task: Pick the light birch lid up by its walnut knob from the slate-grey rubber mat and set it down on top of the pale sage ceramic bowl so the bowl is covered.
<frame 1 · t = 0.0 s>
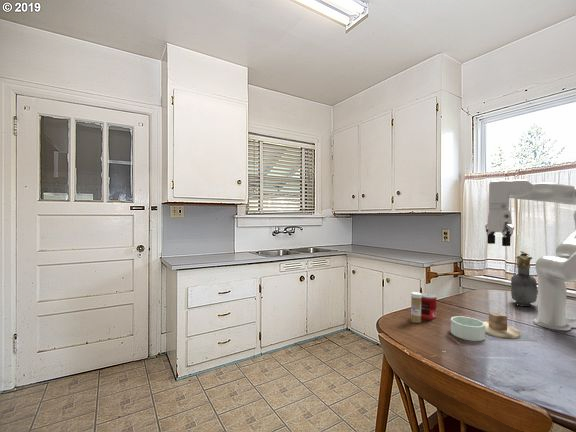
hand: (498, 244, 131), 37 cm above the table, tool pointing down, fingers open, 9 cm apart
canned food: (427, 317, 140), on the table
lid: (497, 331, 122), point 1 cm above the table, touching mat
mat: (497, 332, 122), on the table
bowl: (467, 335, 119), on the table
grey vase: (523, 304, 161), on the table
sprinkles bottle: (416, 321, 135), on the table
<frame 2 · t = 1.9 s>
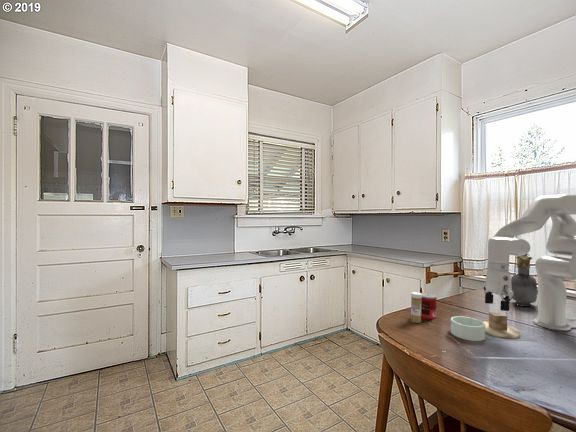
hand: (496, 306, 122), 11 cm above the table, tool pointing down, fingers open, 9 cm apart
nothing on the table moved.
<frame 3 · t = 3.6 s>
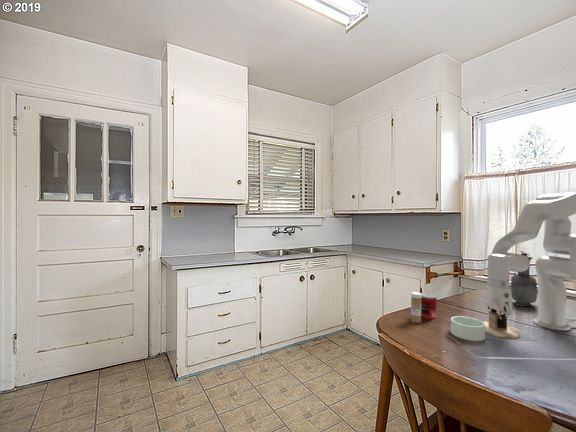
hand: (497, 325, 122), 3 cm above the table, tool pointing down, fingers closed on lid, 4 cm apart
lid: (497, 331, 122), point 1 cm above the table, touching gripper, mat
everything else where it was.
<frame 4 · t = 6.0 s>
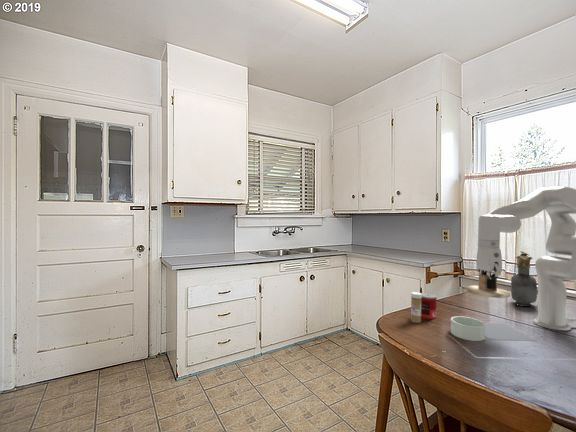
hand: (487, 286, 121), 20 cm above the table, tool pointing down, fingers closed on lid, 4 cm apart
lid: (487, 292, 121), point 17 cm above the table, touching gripper
everything else where it was.
when the fingers open (10 cm above the table, at t = 8.7 s): lid drops 1 cm, resting on bowl.
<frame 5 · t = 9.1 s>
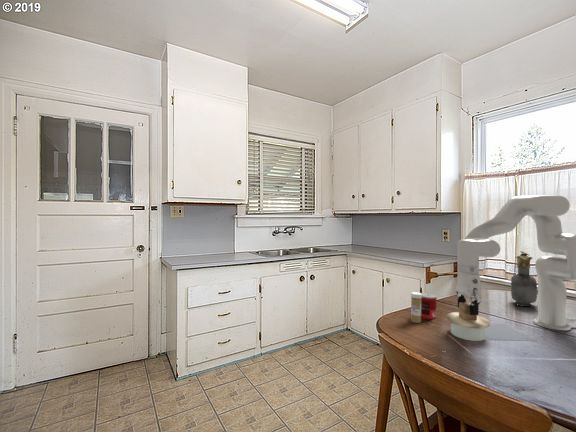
hand: (467, 310, 119), 10 cm above the table, tool pointing down, fingers open, 8 cm apart
lid: (467, 321, 119), point 6 cm above the table, touching bowl
everything else where it was.
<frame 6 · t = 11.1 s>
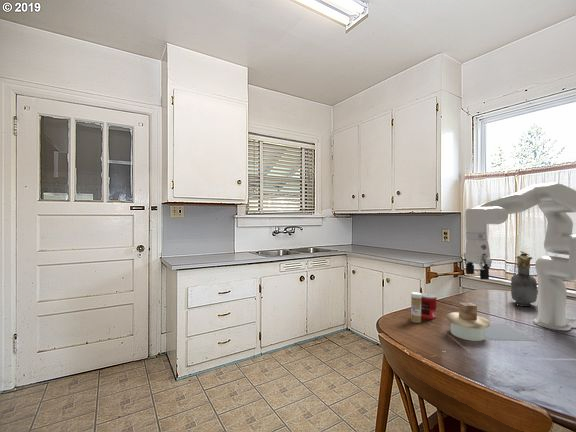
hand: (476, 276, 122), 24 cm above the table, tool pointing down, fingers open, 9 cm apart
nothing on the table moved.
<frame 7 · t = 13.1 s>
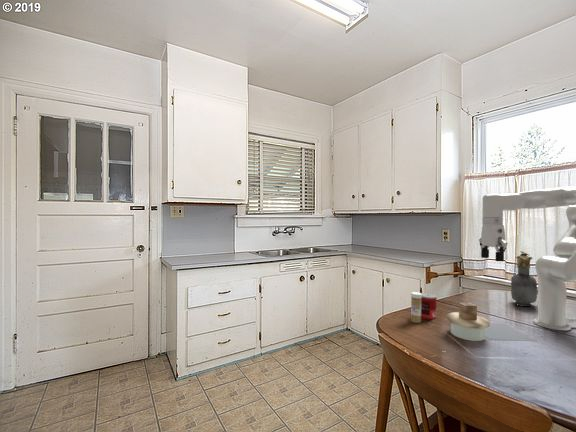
hand: (492, 259, 129), 30 cm above the table, tool pointing down, fingers open, 9 cm apart
nothing on the table moved.
at the end: lid 0.1 cm off-centre on the bowl, point 6.0 cm above the bowl's base; lid tilted 0°; the gripper is holding nothing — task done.
